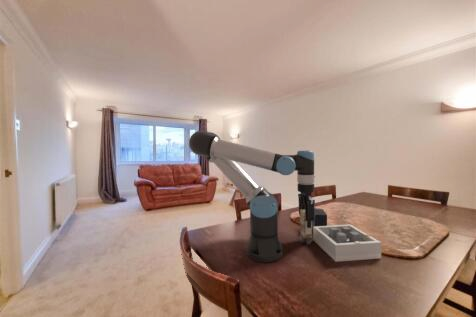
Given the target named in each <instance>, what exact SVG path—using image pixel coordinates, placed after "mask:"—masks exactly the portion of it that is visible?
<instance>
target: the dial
mask: <svg viewBox="0 0 476 317" xmlns="http://www.w3.org/2000/svg"><path fill="white" fill-rule="evenodd" d="M328 236H329V237H330V238H331V239H332V240H334V241H335V242H336V243H350V242H356V241H359V242H361V240H360V234H358V233H357V232H351V229H350V228H349V227H341V233H339V230H338V229H337V228H336V227H330V228H329V235H328Z"/></svg>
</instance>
